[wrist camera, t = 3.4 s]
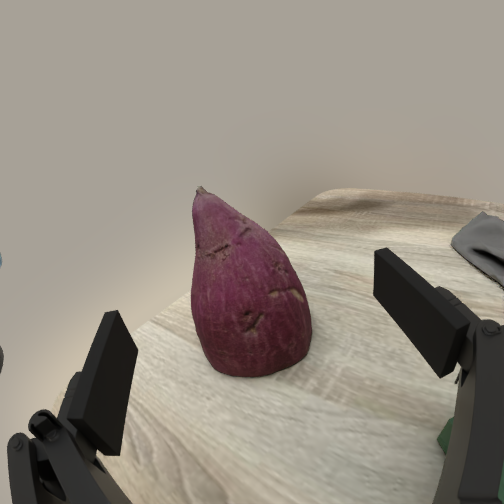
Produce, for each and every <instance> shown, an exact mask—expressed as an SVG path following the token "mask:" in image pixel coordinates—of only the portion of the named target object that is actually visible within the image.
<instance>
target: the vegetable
mask: <svg viewBox="0 0 504 504" xmlns="http://www.w3.org/2000/svg"><path fill="white" fill-rule="evenodd" d="M196 192H197V194H196V196H195V199H194V202H193V208H192V216H193V224H194V232H195V244H196V245H195V246H196V247H195V248H196V256H195V263H194V271H193V279H192V288H191V310H192V316H193V319H194V323H195V327H196V332H197V335H198V337H199V339H200V342H201V345H202V348H203V351H204V354H205V356H206V357H207V359H208V360H209V362H210V363H211V365H212V366H213V367H214V369H216V370H217V371H219V372H221V373H224V374H228V375H231V376H241V377H261V376H264V375H269V374H272V373H275V372H277V371H280V370H282V369H285V368H287V367H289V366H291V365H294V364H295V363H297V362H298V361H300V360H301V359H302V358H303V357H304V356H305V355H306V354H307V352H308V350H309V346H310V342H311V336H312V324H311V315H310V310H309V305H308V301H307V298H306V294H305V291H304V289H303V286H302V284H301V282H300V280H299V278H298V276H297V274H296V272H295V271H294V269H293V267H292V265H291V263H290V261H289V259H288V257H287V255H286V253H285V252H284V251H283V250H282V248H281V247H280V245H279V244H278V242H277V241H276V240H275V239H274V238H273V237H272V236H271V235H270V234H269V233H268V232H267V231H266V230H265V229H263V228H262V227H260V226H259V225H258V224H257V223H255V222H254V221H252V220H250V219H249V218H247V217H246V216H244V215H242V214H241V213H239V212H238V211H237V210H235V209H234V208H232V207H231V206H230V205H228V204H227V203H226V202H224V201H223V200H221V199H220V198H219V197H217V196H216V195H214V194H211V193H208V192H207V191H206V190H205V189H203V187H202V186H198V188H197V190H196Z"/></svg>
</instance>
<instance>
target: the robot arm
mask: <svg viewBox="0 0 504 504" xmlns="http://www.w3.org/2000/svg"><path fill="white" fill-rule="evenodd" d="M1 265H2V258H1V255H0V267H1ZM373 296H374V297H375V298H376V299H377V300H378V302H379V303H380V304H381V305H382V306H383V307H384V309H385V310H386V311H387V312H388V313H389V315H390V316H391V317H392V318H393V320H394V321H395V322H396V323H397V324H398V326H399V327H400V328H401V329H402V331H403V332H404V333H405V334H406V336H407V337H408V338H409V339H410V341H411V342H412V343H413V344H414V346H415V347H416V348H417V350H418V351H419V352H420V353H421V355H422V356H423V357H424V359H425V360H426V361H427V362H428V364H429V365H430V366H431V368H432V369H433V370H434V372H435V373H436V374H437V376H438V377H439V378H442V377H444V376H446V375H448V374H450V373H451V372H453V371H454V368H455V366H456V363H457V362H458V363H459V364H460V366H461V369H460V372H459V374H458V376H457V379H456V381H455V384H457V383H458V380H459V383H458V392H457V400H456V407H455V414H454V420H453V425H452V431H451V436H450V441H449V446H448V450H447V454H446V459H445V463H444V467H443V470H442V474H441V478H440V481H439V484H438V488H437V491H436V494H435V497H434V500H433V503H432V504H502V501H501V500H500V499H499V498H498V491H499V486H500V481H501V475H502V469H503V462H504V325H502V326H500V324H499V323H497V322H495V321H493V320H481V319H480V318H479V317H478V316H477V315H475V314H474V313H473V312H472V311H471V310H470V309H469V308H468V307H467V306H466V305H465V304H464V303H462V302H461V301H460V300H459V299H458V298H456V296H455V295H453V294H452V293H451V292H450V291H449V290H447V289H445V288H442V287H440V286H439V287H436V288H434V287H433V286H432V285H430V284H429V283H428V282H427V281H426V280H425V279H424V278H422V277H421V276H420V275H419V274H418V273H417V272H416V271H414V270H413V269H412V268H411V267H410V266H409V265H407V264H406V263H405V262H404V261H403V260H401V259H400V258H399V257H398V256H397V255H395V254H394V253H393V252H392V251H391V250H389V249H388V248H383V249H379V250H376V251H374V290H373ZM137 355H138V348H137V347H136V345H135V343H134V341H133V339H132V337H131V335H130V333H129V332H128V329H127V328H126V326H125V324H124V322H123V320H122V318H121V316H120V313H119V312H118V310H116V311H110V312H105V314H104V316H103V319H102V321H101V323H100V326H99V328H98V331H97V333H96V336H95V338H94V341H93V343H92V345H91V348H90V351H89V353H88V356H87V358H86V361H85V364H84V367H83V369H82V372H76V373H75V375H74V376H73V377H72V379H71V380H70V382H69V385H68V388H67V391H66V393H65V398H64V399H63V402H62V405H61V408H60V411H59V414H58V417H57V418H56V417H55V416H54V415H53V414H52V413H51V412H50V411H49V410H46V409H45V410H40V411H38V412H36V413H35V414H34V415H33V416H32V417H31V419H30V421H29V424H28V428H29V431H30V432H31V433H32V434H33V435H34V436H35V437H36V438H33V439H29V438H28V437H27V436H26V435H25V434H24V433H16V434H15V435H13V436H12V437H11V438H10V440H9V442H8V446H7V454H8V470H9V480H10V489H11V496H12V503H13V504H132V503H131V501H130V500H129V499H128V498H127V496H126V495H125V494H124V493H123V491H122V490H121V489H120V487H119V486H118V485H117V483H116V482H115V481H114V479H113V478H112V476H111V475H110V474H109V472H108V471H107V469H106V468H105V467H104V465H103V464H102V462H101V461H100V459H99V458H98V457H97V456H96V452H97V449H98V450H99V451H100V452H101V453H102V454H103V455H105V456H120V452H121V445H122V438H123V431H124V424H125V418H126V412H127V406H128V400H129V395H130V389H131V384H132V379H133V374H134V369H135V364H136V359H137Z"/></svg>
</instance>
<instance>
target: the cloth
mask: <svg viewBox="0 0 504 504" xmlns="http://www.w3.org/2000/svg"><path fill="white" fill-rule="evenodd" d="M451 245H452V246H453V247H454V248H455V249H456V250H457V251H458V252H459V253H460V254H461V255H462V256H464V257H465V258H466V259H467V260H468V261H470V262H471V263H472V264H474V265H475V266H476V267H478V268H479V269H481V270H482V271H483V272H485V273H486V274H487V275H489V276H490V277H492V278H493V279H495V280H496V281H497V282H499V283H500V284H501V285H502V286H503V287H504V221H503V220H501V219H499V217H497V216H490V215H487V214H486V213H485V212H483V211H482V212H481V213H480V214H479V215H478V216H477V217H475V218H474V219H472V220H471V221H470V222H469V223H468V224H467V225H466V226H464V227H462V229H461V230H460V231H459V232H458V233H457V234H456V235H455V236H454V237H453V238H452V243H451Z"/></svg>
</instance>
